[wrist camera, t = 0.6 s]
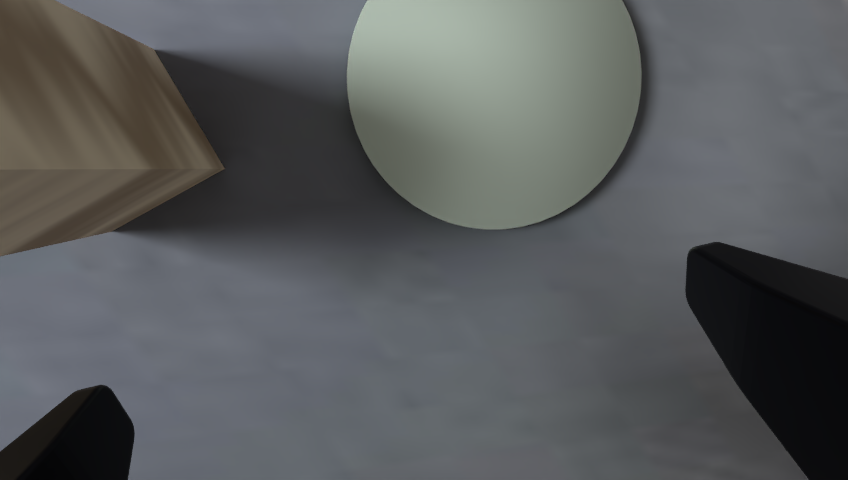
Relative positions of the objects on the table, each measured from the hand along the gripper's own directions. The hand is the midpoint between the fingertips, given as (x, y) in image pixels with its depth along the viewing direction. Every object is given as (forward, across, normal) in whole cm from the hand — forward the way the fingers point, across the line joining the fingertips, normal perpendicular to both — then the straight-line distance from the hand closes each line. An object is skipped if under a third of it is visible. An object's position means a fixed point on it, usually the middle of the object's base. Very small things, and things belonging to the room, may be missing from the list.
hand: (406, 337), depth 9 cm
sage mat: (+14, -5, +1) cm, 15 cm away
